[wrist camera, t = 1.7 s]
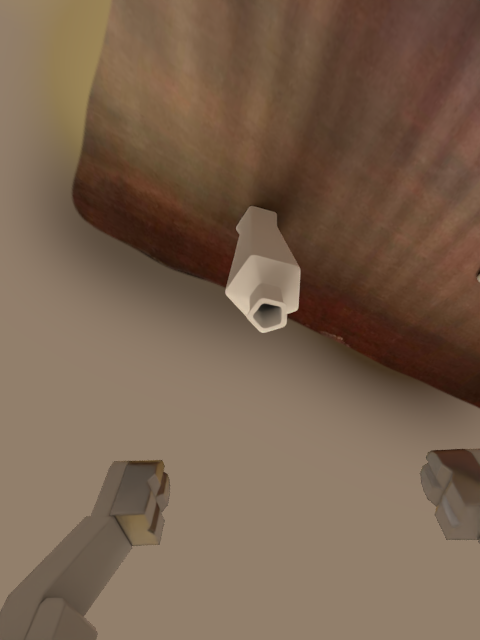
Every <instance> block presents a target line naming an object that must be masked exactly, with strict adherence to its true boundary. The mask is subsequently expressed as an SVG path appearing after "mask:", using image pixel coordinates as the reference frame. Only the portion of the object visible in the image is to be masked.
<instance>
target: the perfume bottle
mask: <svg viewBox="0 0 480 640" xmlns="http://www.w3.org/2000/svg"><path fill="white" fill-rule="evenodd" d="M236 230H237V232H238V233H239V234H240V236H239V239H238V243H237V247H236V251H235V255H234V259H233V263H232V267H231V271H230V275H229V279H228V282H227V286H226V291H225V294H226V295H227V297H228V298H229V299H230V300H231V301H232V302H233V303H234V304H235V305H236V306H237V307H238V308H239V309H240V310H241V311H242V312H243V313H244V315H245V316H246V317H247V318H248V320H249V321H250V322H251V323H252V324H253V325H254V326H255V327H256V328H257V329H258V331H260V332H262V333H265V332H269V331H272V330H275V329H279V328H282V327H284V326H285V325H286V323H287V314H289V313H292V312H295V311H297V309H298V305H299V287H300V268H299V266H298V264H297V262H296V260H295V258H294V257H293V255H292V253H291V251H290V249H289V248H288V246H287V244H286V242H285V240H284V238H283V237H282V235H281V233H280V231H279V229H278V227H277V214H276V213H275V212H273V211H269V210H266V209H262V208H258V207H255V206H250V207H249V208H248V209H247V211H246V213H245V214H244V216H243V217H242V219H241V220H240V222H239V223H238V225H237V227H236Z"/></svg>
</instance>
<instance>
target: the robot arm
mask: <svg viewBox="0 0 480 640" xmlns="http://www.w3.org/2000/svg"><path fill="white" fill-rule="evenodd" d="M426 459H427V461H428V463H427V464H425V465H424V466H422V469H421V473H420V475H421V483H422V487H423V490H424V492H425V495H426V496H427V499H428V500H429V501H431V502H432V503H433V504H434V505H435V506H436V511H435V516H436V518H437V521H438V523H439V525H440V527H441V529H442V531H443V533H444V535H445V538H446V540H479V541H478V542H479V543H480V449H453V450H434V451H430V452H428V454H427V456H426ZM164 467H165V466H164V463H163V461H162V460H148V461H114V462H113V464H112V465H111V466H110V468H109V470H108V473H107V476H106V478H105V481H104V483H103V486H102V488H101V491H100V494H99V496H98V499H97V502H96V504H95V507H94V509H93V512H92V514H91V516H89V517H85V518H84V519H83V520H82V521H81V522H80V523H79V524H78V525H77V526H76V527H75V528H74V529H73V530H72V531H71V533H70V534H68V535H67V536H66V537H65V538H64V539H63V541H62V542H61V543H60V544H59V545H58V546H57V547H56V548H55V549H54V550H53V551H52V552H51V553H50V554H49V555H48V556H47V557H46V558H45V559H44V560H43V561H42V562H41V563H40V564H39V565H38V566H37V567H36V568H35V569H34V570H33V571H32V572H31V573H30V574H29V575H28V576H27V577H26V578H25V579H24V580H23V581H22V582H21V583H20V584H19V585H18V586H17V587H16V588H15V589H14V590H13V592H11V594H10V595H9V596H8V597H7V600H6V602H5V603H4V605H3V608H2V610H1V612H0V640H96V638H97V631H96V628H95V627H94V626H93V625H92V624H91V623H90V622H89V621H87V620H86V619H85V618H84V615H85V614H86V612H87V611H88V610H89V608H90V607H91V605H92V604H93V602H94V601H95V600H96V598H97V597H98V596H99V594H100V593H101V591H102V590H103V589H104V587H105V586H106V584H107V582H108V581H109V580H110V579H111V577H112V576H113V574H114V573H115V571H116V570H117V569H118V567H119V566H120V565H121V563H122V562H123V560H124V559H125V557H126V556H127V555H128V553H129V552H130V550H131V549H132V546H141V545H159V544H160V540H161V536H162V531H163V526H164V518H163V516H162V513H161V512H162V511H163V510H164V509H165V508H166V507H167V506H168V501H169V495H170V481H169V477H168V474H166V473H165V472H164Z"/></svg>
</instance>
